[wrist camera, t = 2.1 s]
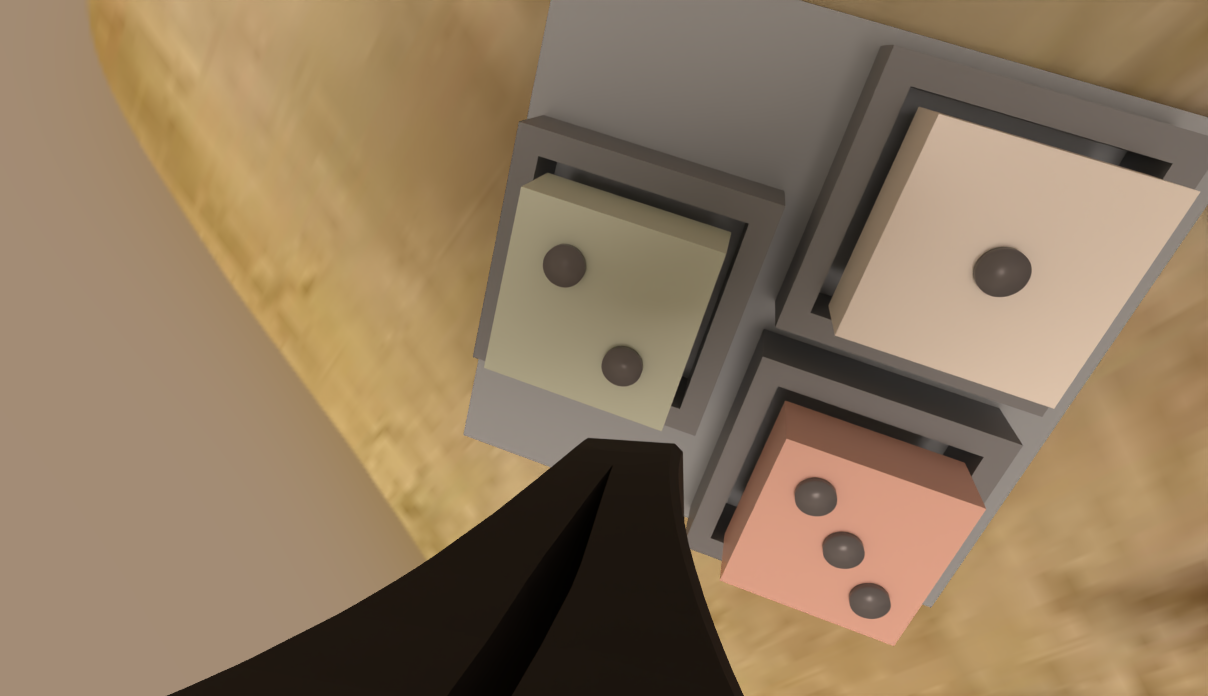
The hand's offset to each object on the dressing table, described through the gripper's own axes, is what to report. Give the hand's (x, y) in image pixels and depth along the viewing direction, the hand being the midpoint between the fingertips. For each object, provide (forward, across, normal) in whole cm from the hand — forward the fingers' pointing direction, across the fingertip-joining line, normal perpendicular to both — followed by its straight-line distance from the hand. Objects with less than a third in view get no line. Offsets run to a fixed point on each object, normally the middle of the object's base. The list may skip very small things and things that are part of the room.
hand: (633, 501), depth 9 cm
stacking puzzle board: (+10, -2, +1) cm, 11 cm away
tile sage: (+7, +2, -1) cm, 8 cm away
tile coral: (+7, -4, +5) cm, 10 cm away
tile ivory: (+7, -6, -2) cm, 10 cm away
